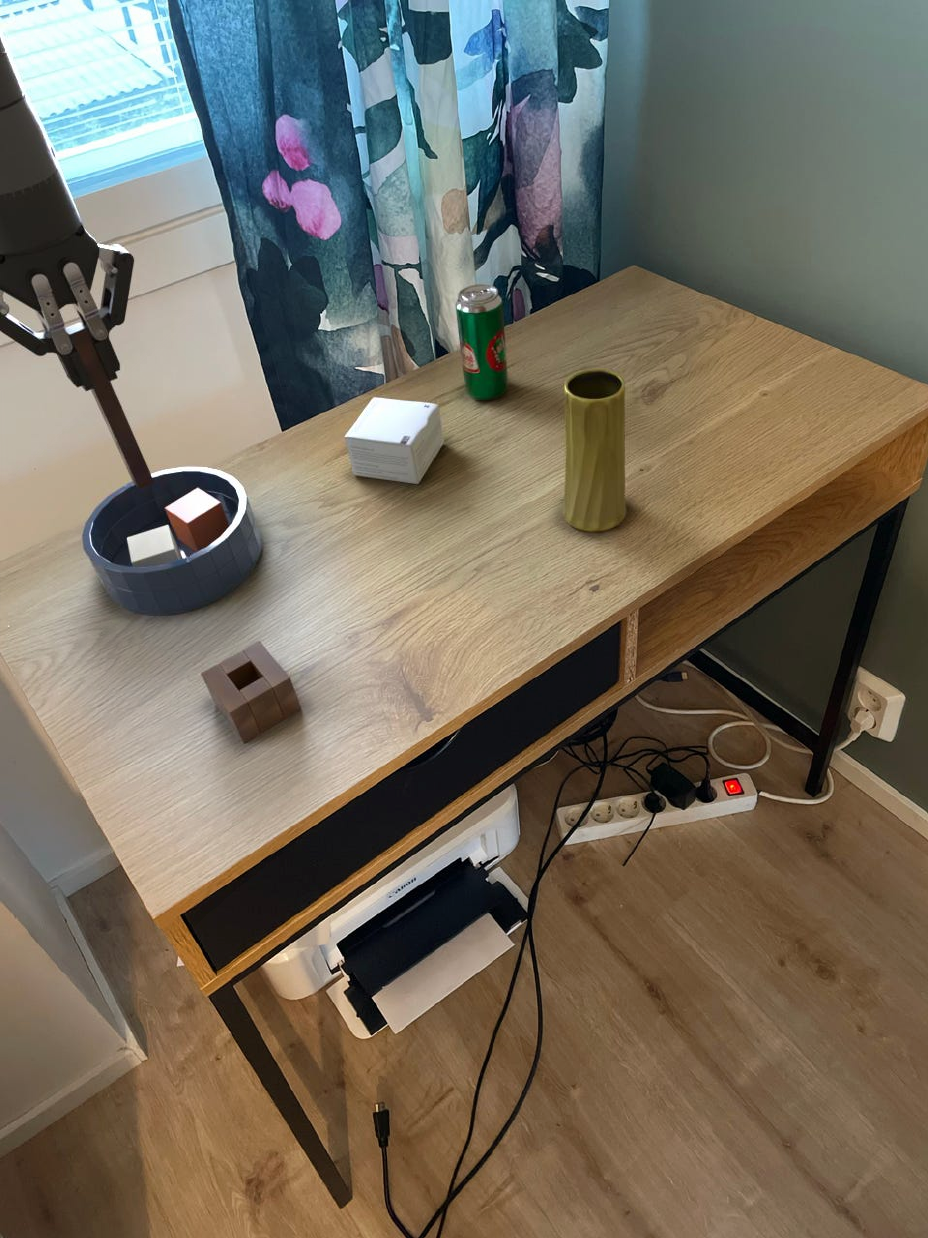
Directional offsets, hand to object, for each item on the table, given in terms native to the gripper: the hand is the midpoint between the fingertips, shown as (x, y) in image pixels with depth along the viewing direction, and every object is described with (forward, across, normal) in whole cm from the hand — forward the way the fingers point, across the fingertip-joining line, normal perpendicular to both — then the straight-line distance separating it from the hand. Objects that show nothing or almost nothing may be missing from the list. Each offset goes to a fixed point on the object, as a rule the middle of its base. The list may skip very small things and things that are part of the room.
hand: (98, 381), depth 78 cm
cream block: (+18, +2, +5) cm, 19 cm away
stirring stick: (+11, 0, 0) cm, 11 cm away
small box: (+19, -25, +5) cm, 32 cm away
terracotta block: (+18, -3, +2) cm, 18 cm away
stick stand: (+19, +3, +26) cm, 32 cm away
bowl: (+19, 0, +4) cm, 19 cm away
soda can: (+19, -40, +1) cm, 44 cm away
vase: (+19, -34, +26) cm, 47 cm away
